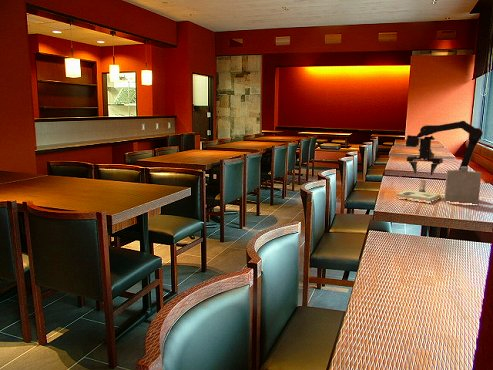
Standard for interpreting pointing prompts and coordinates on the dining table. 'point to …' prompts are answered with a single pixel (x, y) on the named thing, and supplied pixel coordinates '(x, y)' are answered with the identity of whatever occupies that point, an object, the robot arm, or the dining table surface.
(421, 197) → the socket block
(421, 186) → the plug
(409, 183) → the dining table surface
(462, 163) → the robot arm
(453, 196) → the grey upright panel
